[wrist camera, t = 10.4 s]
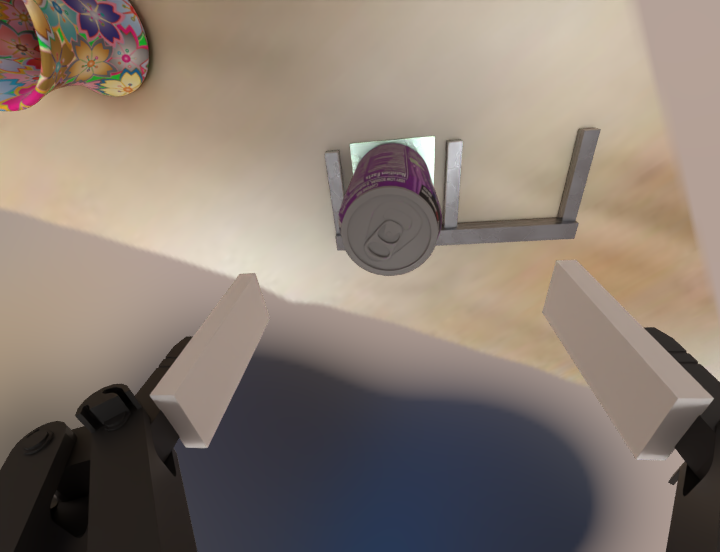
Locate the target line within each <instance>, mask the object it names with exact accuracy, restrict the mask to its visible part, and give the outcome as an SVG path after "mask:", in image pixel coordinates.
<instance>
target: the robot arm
mask: <svg viewBox="0 0 720 552" xmlns="http://www.w3.org/2000/svg"><path fill="white" fill-rule="evenodd" d="M542 313H543V314H544V316H545V317H546V319H547V320H548V322H549V324H550V325H551V327H552V328H553V330H554V331H555V333H556V335H557V336H558V338H559V339H560V341H561V342H562V344H563V346H564V347H565V349H566V350H567V352H568V353H569V355H570V357H571V358H572V360H573V361H574V363H575V364H576V366H577V368H578V369H579V371H580V372H581V374H582V376H583V377H584V379H585V380H586V382H587V383H588V385H589V387H590V388H591V390H592V391H593V393H594V394H595V396H596V398H597V399H598V401H599V402H600V404H601V405H602V407H603V409H604V410H605V412H606V413H607V415H608V416H609V418H610V420H611V421H612V423H613V424H614V425H615V427H616V429H617V431H618V432H619V434H620V435H621V437H622V438H623V440H624V442H625V443H626V445H627V446H628V448H629V449H630V451H631V453H632V454H633V456H634V457H635V459H636V460H666V459H667V458H668V457H669V455H670V454H671V452H673V450H674V449H676V450H677V451H678V452H679V454H680V455H681V456H682V458H683V459H684V460H685V462H684V463H683V464H682V465H681V466H680V468H679V469H678V470H677V471H676V472H675V473H674V475H673V476H672V477H671V479H670V480H669V483H670V484H672V485H674V484H675V483H676V482H677V481H678V483H677V489H676V496H675V501H674V506H673V513H672V518H671V525H670V531H669V536H668V542H667V548H666V552H720V382H719V381H718V380H717V379H716V378H715V377H714V376H713V375H712V374H710V373H709V372H708V371H707V370H706V369H705V368H704V367H703V366H702V365H701V364H698V361H697V360H696V359H694V358H693V357H692V356H691V355H690V354H689V353H686V350H685V349H684V348H683V347H682V346H681V345H680V344H679V343H677V342H676V341H675V340H674V339H673V338H672V337H670V336H668V335H667V334H665V333H663V332H661V331H660V330H658V329H656V328H655V327H647V328H643V327H642V326H641V325H640V324H639V323H638V322H637V321H636V320H635V319H634V318H633V317H632V316H631V315H630V314H629V313H628V312H627V311H626V310H625V309H624V308H623V307H622V306H621V305H620V304H619V303H618V302H617V301H616V299H615V298H614V297H613V296H612V295H611V294H610V293H609V292H608V291H607V290H606V289H605V288H604V287H603V286H602V285H601V284H600V283H599V282H598V281H597V280H596V279H595V278H594V277H593V276H592V275H591V274H590V273H589V272H588V271H587V270H586V269H585V268H584V267H583V266H582V265H581V264H580V263H579V262H578V261H577V260H558V261H556V263H555V267H554V271H553V274H552V278H551V282H550V286H549V289H548V293H547V297H546V300H545V304H544V308H543V312H542ZM269 320H270V317H269V314H268V311H267V308H266V305H265V302H264V298H263V295H262V292H261V289H260V286H259V283H258V280H257V277H256V274H255V273H249V274H239V276H238V277H237V278H236V280H235V281H234V282H233V284H232V285H231V286H230V288H229V289H228V290H227V292H226V293H225V295H224V296H223V297H222V298H221V300H220V301H219V303H218V304H217V305H216V307H215V308H214V309H213V311H212V312H211V313H210V315H209V316H208V317H207V319H206V320H205V321H204V323H203V324H202V325H201V327H200V328H199V330H198V331H197V332H196V333H195V335H194V336H192V337H185V338H184V339H183V340H181V341H180V342H179V343H178V344H176V345H175V346H174V347H173V348H172V349H171V351H170V352H169V353H168V355H167V356H166V359H164V360H163V361H162V362H161V364H160V365H159V368H157V369H156V370H155V371H154V372H153V374H152V375H151V376H150V378H149V379H148V380H147V382H145V384H144V385H143V386H142V388H141V389H140V390H139V392H138V393H137V394H136V395H135V396H134V394H133V393H132V392H131V390H130V389H129V388H128V386H127V385H124V384H113V385H110V386H107V387H104V388H102V389H100V390H98V391H97V392H95V393H93V394H92V395H91V396H89V397H88V398H87V399H86V400H85V401H84V402H83V403H82V404H81V405H80V407H79V408H78V409H77V412H76V415H75V416H76V417H77V418H78V420H79V421H80V422H81V423H82V424H83V425H84V426H83V427H80V428H76V429H73V430H71V429H70V428H69V427H68V426H67V425H66V424H65V423H64V422H60V421H55V422H50V423H47V424H45V425H42V426H40V427H38V428H36V429H35V430H33V431H31V432H30V433H28V434H27V435H26V436H25V437H24V438H23V439H21V440H20V441H19V442H18V443H17V444H16V445H15V447H14V448H13V449H12V451H11V452H10V454H9V456H8V457H7V459H6V461H5V463H4V465H3V466H2V468H1V470H0V552H197V547H196V542H195V538H194V533H193V528H192V524H191V519H190V514H189V509H188V505H187V500H186V495H185V490H184V486H183V481H182V476H181V472H180V467H179V462H178V457H177V453H176V452H175V450H174V448H173V447H174V446H175V444H176V442H177V440H178V439H179V438H180V439H181V441H182V442H183V444H184V445H185V447H187V448H207V447H208V446H209V443H210V441H211V439H212V437H213V435H214V433H215V431H216V429H217V427H218V425H219V423H220V421H221V419H222V417H223V415H224V413H225V411H226V409H227V407H228V404H229V402H230V400H231V398H232V396H233V394H234V392H235V390H236V388H237V386H238V384H239V382H240V380H241V378H242V376H243V374H244V371H245V369H246V367H247V365H248V363H249V361H250V359H251V357H252V355H253V353H254V351H255V349H256V347H257V345H258V343H259V340H260V338H261V336H262V334H263V332H264V330H265V328H266V326H267V324H268V322H269Z"/></svg>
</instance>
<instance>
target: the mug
mask: <svg viewBox="0 0 720 552" xmlns="http://www.w3.org/2000/svg"><path fill="white" fill-rule="evenodd" d="M148 65H149V50H148V43H147V39H146V35H145V32H144V29H143V26H142V24H141V22H140V19H139V17H138V15H137V13H136V12H135V10H134V8H133V7H132V5H131V4H130V2H129V1H128V0H0V111H19V110H23V109H26V108H29V107H31V106H33V105H34V104H36V103H37V102H38V101H39V100H41V99H42V98H43V97H44V96H45V95H46V94H48V93H49V92H51V91H53V90H55V89H58V88H61V87H65V86H71V85H79V86H85V87H87V88H89V89H91V90H93V91H95V92H97V93H100V94H103V95H107V96H124V95H128V94H130V93H132V92H134V91H135V90H136V89H138V88H139V87H140V86H141V84H142V83H143V81H144V79H145V77H146V74H147V71H148Z"/></svg>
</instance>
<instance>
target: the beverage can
mask: <svg viewBox="0 0 720 552" xmlns="http://www.w3.org/2000/svg"><path fill="white" fill-rule="evenodd" d="M338 222H339V230H340V234H341V238H342V242H343V246H344V248H345V250H346V252H347V254H348V255H349V257H350V258H351V259H352V260H353V261H354V262H355V263H356V264H357V265H358V266H360V267H361V268H363V269H364V270H366V271H369V272H371V273H374V274H378V275H384V276H394V275H401V274H404V273H407V272H410V271H412V270H414V269H416V268H417V267H419V266H420V265H422V264H423V263H424V262H425V261H426V260H427V259H428V258H429V256H430V255H431V253H432V252H433V250H434V248H435V245H436V242H437V239H438V236H439V234H440V230H441V225H442V214H441V208H440V204H439V201H438V198H437V195H436V192H435V189H434V185H433V182H432V179H431V176H430V173H429V170H428V167H427V165H426V163H425V161H424V159H423V158H422V157H421V156H420V155H419V154H418V153H417V152H416V151H415V150H413V149H412V148H410V147H408V146H405V145H402V144H396V143H390V144H384V145H380V146H378V147H375V148H373V149H372V150H370V151H369V152H368V153H367V154H365V156H364V157H363V158H362V159H361V160H360V162H359V164H358V166H357V168H356V170H355V172H354V175H353V177H352V179H351V182H350V184H349V187H348V189H347V191H346V194H345V196H344V198H343V201H342V204H341V207H340V210H339V219H338Z"/></svg>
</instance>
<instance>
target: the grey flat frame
mask: <svg viewBox="0 0 720 552" xmlns="http://www.w3.org/2000/svg"><path fill="white" fill-rule="evenodd" d="M600 130H601V129H597V128H586V129H579V130H578V135H577V139H576V143H575V147H574V151H573V155H572V159H571V163H570V168H569V172H568V176H567V180H566V184H565V188H564V192H563V196H562V200H561V205H560V209H559V213H558V217H557V218H541V219H524V220H506V221H489V222H472V223H457V219H458V205H459V191H460V176H461V162H462V147H463V141H462V140H461V139H460V140H449V141H447V149H446V172H445V194H444V217H443V224H442V225H441V230H440V234H439V236H438V239H437V242H436V245H435V246H437V245H457V244H477V243H497V242H517V241H537V240H557V239H574V238H575V234H576V231H577V227H578V222H576V221H575V220H576V217H577V213H578V210H579V206H580V202H581V199H582V195H583V191H584V188H585V184H586V181H587V177H588V173H589V170H590V166H591V162H592V159H593V155H594V152H595V148H596V144H597V141H598V137H599V133H600ZM390 143H396V144H402V145H405V146H408V147H410V148H412V149H413V150H415V151H416V152H417V153H418V154H419V155H420V156H421V157H422V158H423V159H424V161H425V163H426V165H427V167H428V170H429V173H430V176H431V179H432V182H433V185H434V152H435V136H427V137H415V138H404V139H393V140H382V141H371V142H360V143H350V151H351V160H352V170H353V175H354V172H355V170H356V168H357V166H358V164H359V162H360V160H361V159H362V158H363V157H364V156H365V154H367V153H368V152H369V151H370V150H372V149H373V148H375V147H378V146H380V145H384V144H390ZM325 160H326V167H327V174H328V180H329V187H330V194H331V201H332V208H333V215H334V221H335V228H336V243H337V250H345V248H344V246H343V242H342V238H341V234H340V230H339V222H338V219H339V210H340V207H341V204H342V201H343V198H344V196H345V195H344V186H343V178H342V170H341V162H340V154H339V150H335V151H326V152H325Z"/></svg>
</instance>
